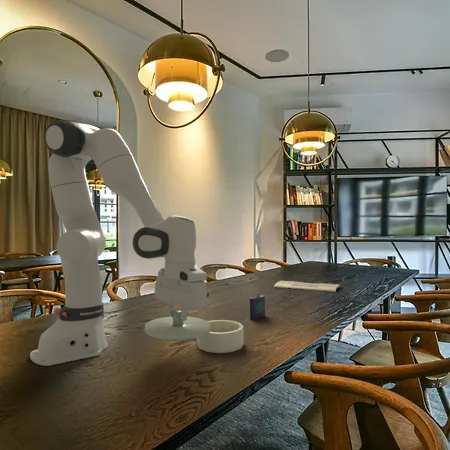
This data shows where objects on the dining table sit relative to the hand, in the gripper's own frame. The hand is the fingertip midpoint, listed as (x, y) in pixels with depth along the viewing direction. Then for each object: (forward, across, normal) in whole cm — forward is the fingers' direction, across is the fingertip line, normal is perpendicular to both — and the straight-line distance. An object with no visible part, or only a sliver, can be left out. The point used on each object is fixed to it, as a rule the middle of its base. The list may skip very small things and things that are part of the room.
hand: (177, 318), depth 103 cm
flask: (+11, -12, +53) cm, 55 cm away
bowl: (+12, -1, +19) cm, 22 cm away
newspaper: (+10, -35, +128) cm, 133 cm away
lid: (+3, 0, 0) cm, 3 cm away
